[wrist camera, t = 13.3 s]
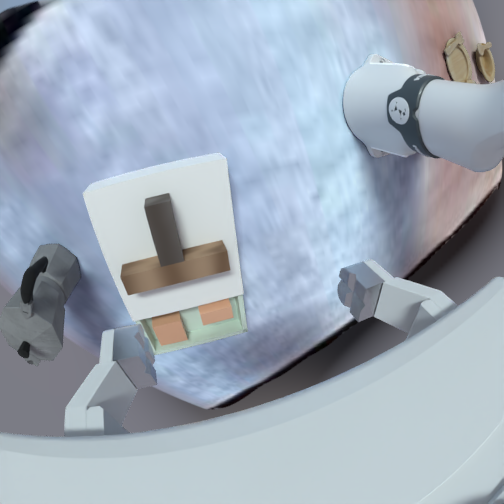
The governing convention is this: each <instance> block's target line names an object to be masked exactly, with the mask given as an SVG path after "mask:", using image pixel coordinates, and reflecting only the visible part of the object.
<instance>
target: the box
mask: <svg viewBox="0 0 504 504" xmlns="http://www.w3.org/2000/svg"><path fill="white" fill-rule="evenodd" d="M228 299H229V301H230V304H231V306H232V312H233V317H234V318H230V319H227V320H223V321H219V322H215V323H211V324H208V325H204V326H203V323H202V320H201V316H200V313H199V309H198V306H196V307H192V308H188V309H184V310H180V311H179V312H180V315H181V318H182V321H183V324H184V326H185V329H186V333H187V338H188V340H185V341H181V342H176V343H172V344H168V345H163V346H161V344H160V342H159V340H158V338H157V336H156V334H155V332H154V330H153V328H152V317H151V318H146V319H142V320H138V321H135V322H136V324H141V325H142V327H143V329H144V336H145V337H147V338H148V339H149V341H150V343H151V346H152V349H153V353H154V355H157V354H162V353H166V352H171V351H175V350H179V349H183V348H188V347H192V346H196V345H200V344H204V343H208V342H211V341H215V340H219V339H223V338H226V337H230V336H233V335H237V334H241V333H244V332H247V331H248V329H247V322H246V315H245V308H244V301H243V294H242V295H238V296H235V297H231V298H228Z"/></svg>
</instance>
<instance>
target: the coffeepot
mask: <svg viewBox="0 0 504 504" xmlns="http://www.w3.org/2000/svg"><path fill="white" fill-rule="evenodd" d="M80 278H81V275H80V270H79V265H78V262H77V258H76V257H75V256H74V255H73V254H72V253H71V252H70V251H69V250H68V249H66V248H65V247H63V246H61V245H60V244H46V245H41V246H39V248H38V250H37V252H36V253H35V255H34V257H33V259H32V261H31V264H30V267H29V268H28V269H27V270H26V271H25V273H24V275H23V279H22V284H21V287H20V288H19V289H18V290H17V292H16V293H15V294H14V295H13V297H12V298H11V299H10V301H9V302H8V303H7V305H6V306H5V307H4V309H3V312H2V314H1V316H0V330H1V332H2V334H3V336H4V337H5V339H6V341H7V342H8V344H9V346H11V347H12V348H14V349H15V350H17V352H18V354H19V355H20V356H21V357H23V358H24V359H25V360H26V361H27V362H28V363H29V364H34V365H35V366H38V365H39V363H40V361H41V360H49V361H53V360H54V359H55V357H56V356H57V355H58V353H59V352H60V350H61V349H62V347H63V330H64V316H65V309H64V304H65V303H66V301H67V299H68V298H69V296H70V294H71V293H72V291H73V289H74V288H75V286H76V285H77V283H78V281H79V280H80Z"/></svg>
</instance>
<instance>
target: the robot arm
mask: <svg viewBox="0 0 504 504" xmlns="http://www.w3.org/2000/svg"><path fill="white" fill-rule="evenodd" d="M343 108H344V114H345V118H346V121H347V123H348V125H349V127H350V129H351V131H352V132H353V133H354V135H355V136H356V137H357V138H358V139H360V140H361V141H362V142H363V143H364V144H365V145H366V147H367V149H368V151H369V153H370V155H371V156H372V157H375V158H379V157H383V156H386V155H389V154H395V155H398V156H402V157H408V155H413V154H415V153H417V152H418V153H420V154H422V155H424V156H427V157H432V158H443V159H446V160H448V161H451V162H453V163H455V164H458V165H460V166H463V167H465V168H467V169H469V170H472V171H474V172H486V171H489V170H492V169H493V168H495V167H496V166H497V165H498V164H499V163H500V161H501V160H502V158H503V157H504V79H503V80H501V81H499V82H495V83H491V84H474V83H464V82H456V81H448V80H444V79H443V78H441V77H438V76H434V75H430V74H426V73H425V72H424V71H422V70H419V69H415V67H413V66H409V65H407V64H398V63H394V62H392V61H390V60H388V59H386V58H384V57H382V56H380V55H377V54H370V55H369V56H368V58H367V60H366V61H365V63H364V65H363V66H362V67H360V68H359V69H357V70H356V71H355V72H354V73H353V74H352V75H351V76H350V78H349V79H348V81H347V83H346V86H345V89H344V95H343ZM339 277H340V278H341V281H340V283H339V284H338V296H339V299H340V301H341V302H342V303H343V305H345V306H347V307H350V313H351V314H352V315H353V316H354V317H355V319H356V320H357V321H358V322H359V321H362V320H364V319H367V318H369V317H372V316H374V317H376V318H378V319H380V320H382V321H384V322H386V323H388V324H390V325H392V326H394V327H396V328H399V329H400V330H403V331H405V332H407V333H409V334H408V336H407V338H406V340H405V341H403V342H402V343H400V344H398V345H396V346H395V347H393V348H391V349H389V350H388V351H386V352H384V353H382V354H380V355H378V356H376V357H374V358H373V359H371V360H369V361H367V362H365V363H363V364H361V365H359V366H356V367H355V368H352V369H350V370H348V371H346V372H344V373H342V374H339V375H338V376H335V377H333V378H330V379H328V380H326V381H324V382H321V383H319V384H317V385H314V386H311V387H309V388H307V389H304V390H302V391H299V392H296V393H294V394H291V395H288V396H285V397H283V398H280V399H277V400H274V401H271V402H268V403H265V404H262V405H259V406H256V407H252V408H249V409H246V410H242V411H239V412H235V413H232V414H228V415H225V416H221V417H217V418H213V419H209V420H204V421H200V422H195V423H190V424H186V425H181V426H175V427H170V428H164V429H158V430H151V431H144V432H137V433H130V432H128V431H127V430H126V429H125V428H124V427H122V424H123V421H124V419H125V417H126V414H127V412H128V410H129V408H130V405H131V403H132V401H133V399H134V396H135V394H136V392H137V389H139V388H144V387H148V386H154V385H157V378H156V370H155V369H154V367H153V363H154V362H155V359H154V353H153V349H152V346H151V343H150V341H149V339H148V338H147V337H145V336H144V329H143V327H142V325H141V324H134V325H129V326H124V327H119V328H115V329H110V330H104V331H103V333H102V340H101V350H100V362H99V364H96V365H95V367H94V368H93V369H92V371H91V372H90V374H89V375H88V376H87V378H86V379H85V381H84V382H83V383H82V385H81V386H80V388H79V389H78V391H77V392H76V394H75V395H74V397H73V398H72V399H71V401H70V402H69V404H68V405H67V407H66V413H65V431H64V437H53V436H52V437H51V436H33V435H21V434H12V433H5V432H0V504H504V278H502V277H495V278H493V279H492V280H491V281H490V282H489V283H487V284H486V285H485V286H483V287H482V288H481V289H480V290H479V291H477V292H476V293H475V294H474V295H472V296H471V297H469V298H468V299H467V300H466V301H464V302H463V303H461V304H460V305H459V306H457V305H456V304H455V303H454V302H453V301H452V300H451V299H450V298H449V297H447V296H446V295H445V294H444V293H443V292H442V291H440V290H436V289H434V288H431V287H427V286H424V285H420V284H417V283H414V282H411V281H408V280H405V279H401V278H398V277H396V278H394V277H393V276H391V275H390V274H389V273H388V272H387V271H386V270H385V269H383V268H382V267H381V266H380V265H379V264H378V263H376V262H375V261H374V260H372V259H368V260H365V261H362V262H360V263H357V264H354V265H351V266H348V267H345V268H342V269H341V271H340V274H339Z"/></svg>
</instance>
